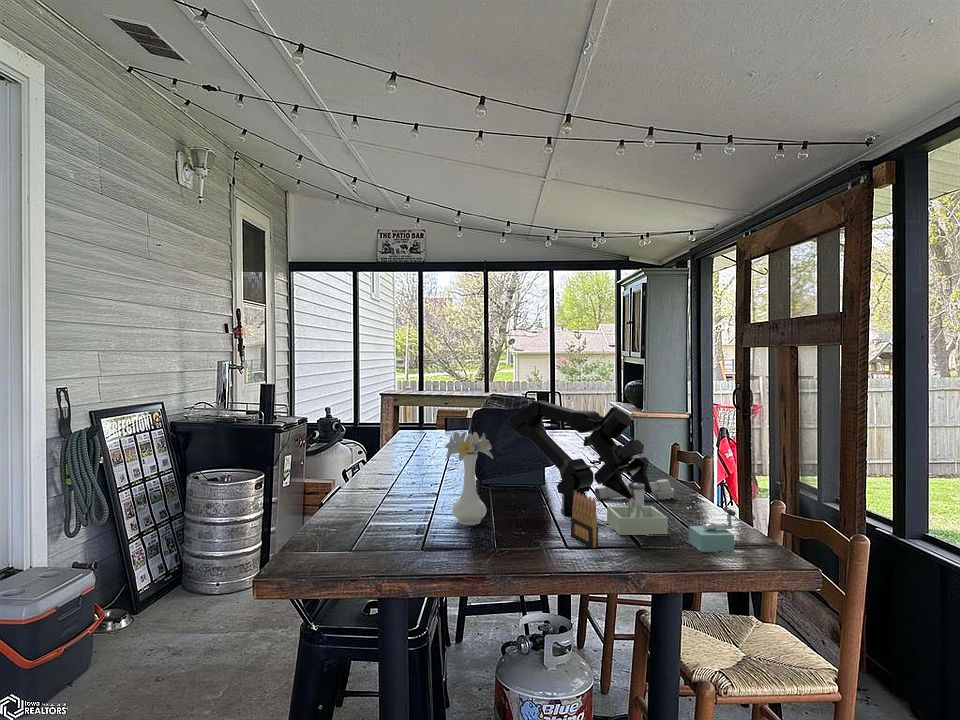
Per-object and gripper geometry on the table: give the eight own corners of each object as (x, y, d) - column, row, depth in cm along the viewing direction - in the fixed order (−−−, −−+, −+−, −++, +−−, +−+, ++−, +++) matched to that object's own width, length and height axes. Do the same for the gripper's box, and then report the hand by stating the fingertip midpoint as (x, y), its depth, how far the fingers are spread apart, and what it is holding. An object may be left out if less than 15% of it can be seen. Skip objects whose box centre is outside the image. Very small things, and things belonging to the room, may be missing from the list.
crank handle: (707, 532, 162) (707, 511, 162) (698, 526, 167) (699, 506, 167) (736, 531, 162) (736, 511, 162) (727, 526, 168) (727, 506, 167)
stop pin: (630, 527, 178) (630, 485, 178) (626, 523, 182) (626, 482, 182) (646, 527, 178) (646, 485, 178) (641, 522, 183) (641, 482, 182)
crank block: (700, 552, 161) (701, 535, 160) (688, 542, 168) (688, 526, 168) (733, 551, 161) (734, 534, 161) (720, 541, 169) (720, 525, 169)
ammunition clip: (598, 548, 163) (599, 498, 163) (591, 549, 163) (592, 499, 162) (576, 536, 173) (577, 489, 173) (570, 537, 173) (570, 490, 172)
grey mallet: (593, 485, 217) (668, 474, 219) (596, 506, 217) (671, 494, 219) (597, 489, 212) (674, 477, 214) (600, 510, 212) (677, 498, 214)
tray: (619, 535, 174) (619, 518, 174) (606, 522, 186) (607, 506, 186) (667, 535, 174) (667, 517, 174) (652, 522, 187) (652, 506, 187)
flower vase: (483, 512, 197) (484, 426, 196) (498, 530, 178) (498, 435, 178) (439, 514, 194) (439, 427, 193) (449, 532, 176) (449, 436, 175)
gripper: (603, 433, 176) (639, 482, 168) (644, 427, 189) (679, 472, 181) (579, 459, 182) (613, 508, 174) (620, 452, 195) (653, 497, 187)
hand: (641, 495), depth 179 cm, fingers open, 9 cm apart
